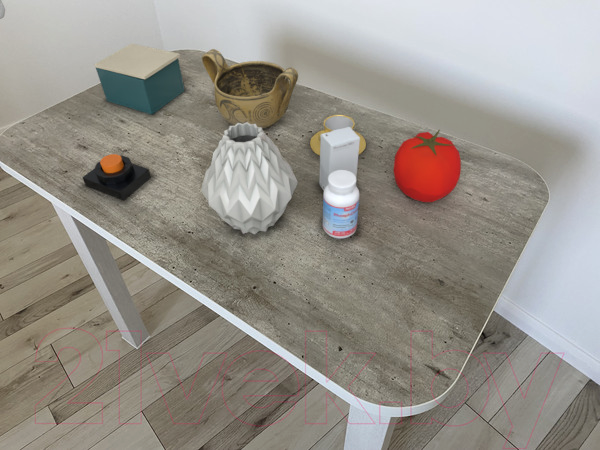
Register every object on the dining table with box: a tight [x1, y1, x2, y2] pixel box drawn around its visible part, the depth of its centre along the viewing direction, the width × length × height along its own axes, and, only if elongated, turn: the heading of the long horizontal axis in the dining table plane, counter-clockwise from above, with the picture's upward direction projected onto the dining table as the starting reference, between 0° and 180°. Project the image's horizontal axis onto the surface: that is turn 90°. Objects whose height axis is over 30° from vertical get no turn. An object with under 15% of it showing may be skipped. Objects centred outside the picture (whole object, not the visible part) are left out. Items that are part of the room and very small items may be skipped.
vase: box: [200, 122, 299, 235], centre depth 82 cm, size 16×16×18 cm
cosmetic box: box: [318, 127, 360, 191], centre depth 90 cm, size 6×4×12 cm
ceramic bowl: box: [201, 48, 299, 130], centre depth 106 cm, size 22×17×15 cm
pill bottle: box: [322, 170, 360, 239], centre depth 82 cm, size 6×6×11 cm
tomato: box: [393, 129, 462, 203], centre depth 88 cm, size 12×13×12 cm
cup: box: [309, 114, 367, 157], centre depth 102 cm, size 12×12×5 cm
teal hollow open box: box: [95, 58, 186, 115], centre depth 118 cm, size 15×13×9 cm
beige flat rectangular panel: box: [94, 42, 181, 79], centre depth 114 cm, size 15×13×1 cm
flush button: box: [99, 153, 124, 173], centre depth 94 cm, size 4×4×2 cm
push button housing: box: [81, 154, 152, 202], centre depth 95 cm, size 10×8×4 cm
